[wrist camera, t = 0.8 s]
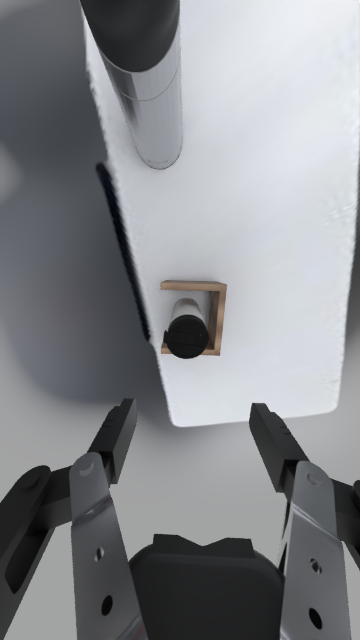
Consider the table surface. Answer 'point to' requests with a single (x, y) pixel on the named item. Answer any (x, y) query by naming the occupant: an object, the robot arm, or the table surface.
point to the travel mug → (186, 330)
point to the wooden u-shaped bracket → (215, 310)
